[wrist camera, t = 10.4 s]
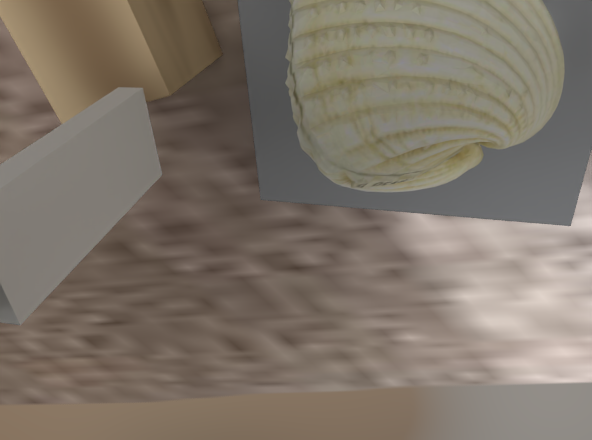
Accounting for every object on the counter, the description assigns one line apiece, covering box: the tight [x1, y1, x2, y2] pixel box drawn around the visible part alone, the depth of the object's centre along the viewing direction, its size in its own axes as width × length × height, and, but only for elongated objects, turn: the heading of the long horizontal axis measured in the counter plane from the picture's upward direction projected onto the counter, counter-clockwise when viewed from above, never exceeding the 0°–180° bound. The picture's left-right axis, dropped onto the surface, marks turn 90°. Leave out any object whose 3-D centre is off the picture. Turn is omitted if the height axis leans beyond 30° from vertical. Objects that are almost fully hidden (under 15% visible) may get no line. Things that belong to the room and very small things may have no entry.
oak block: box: [0, 0, 223, 124], centre depth 20 cm, size 5×5×5 cm
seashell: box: [285, 0, 565, 192], centre depth 17 cm, size 8×8×8 cm
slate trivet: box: [238, 0, 592, 226], centre depth 19 cm, size 13×13×1 cm
